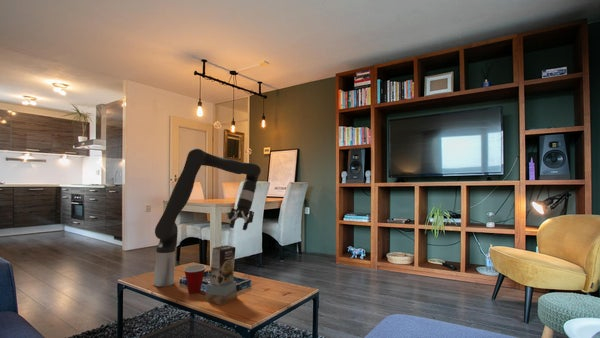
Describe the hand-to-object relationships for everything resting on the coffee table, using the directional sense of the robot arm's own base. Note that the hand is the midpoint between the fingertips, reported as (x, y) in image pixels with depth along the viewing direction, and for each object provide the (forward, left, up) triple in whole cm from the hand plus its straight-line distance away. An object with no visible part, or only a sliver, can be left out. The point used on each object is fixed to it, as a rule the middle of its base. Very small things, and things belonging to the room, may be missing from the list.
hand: (237, 228), depth 167 cm
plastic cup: (-13, -17, -30) cm, 37 cm away
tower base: (+7, -18, -30) cm, 36 cm away
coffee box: (+6, -18, -22) cm, 29 cm away
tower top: (+7, -18, -26) cm, 33 cm away
